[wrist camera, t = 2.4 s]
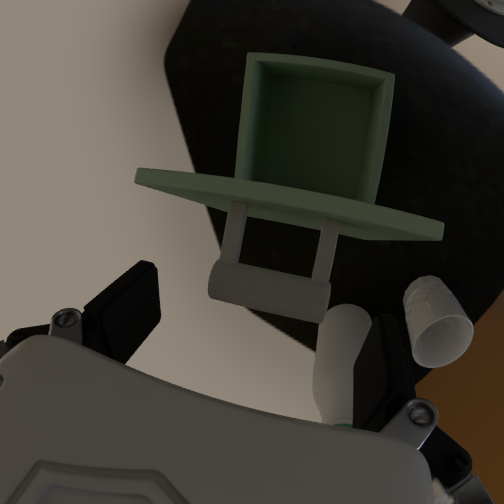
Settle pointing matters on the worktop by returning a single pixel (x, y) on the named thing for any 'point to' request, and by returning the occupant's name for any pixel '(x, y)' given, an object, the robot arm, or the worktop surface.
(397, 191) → the worktop surface
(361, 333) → the milk bottle
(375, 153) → the chest
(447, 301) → the white cup
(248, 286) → the lid
